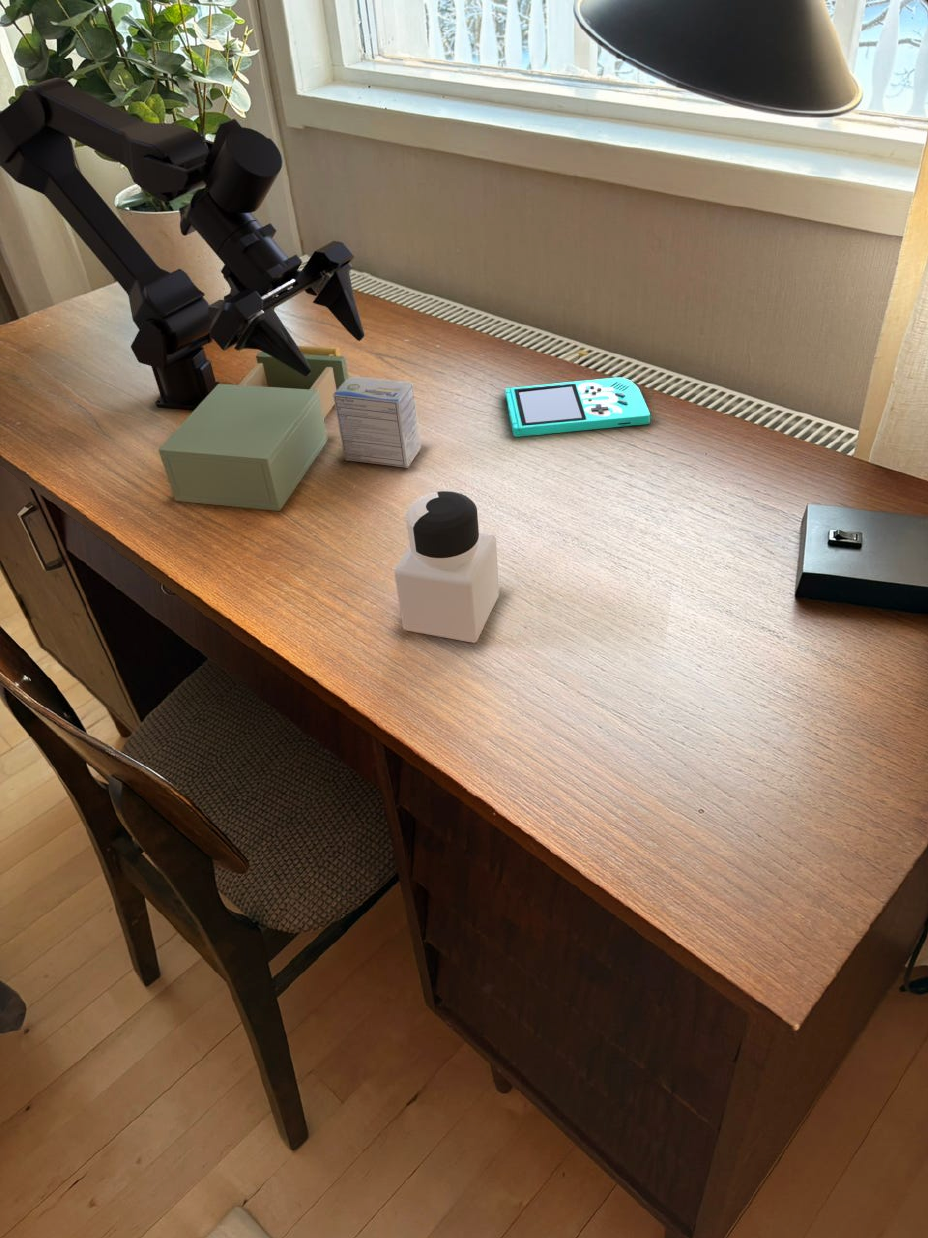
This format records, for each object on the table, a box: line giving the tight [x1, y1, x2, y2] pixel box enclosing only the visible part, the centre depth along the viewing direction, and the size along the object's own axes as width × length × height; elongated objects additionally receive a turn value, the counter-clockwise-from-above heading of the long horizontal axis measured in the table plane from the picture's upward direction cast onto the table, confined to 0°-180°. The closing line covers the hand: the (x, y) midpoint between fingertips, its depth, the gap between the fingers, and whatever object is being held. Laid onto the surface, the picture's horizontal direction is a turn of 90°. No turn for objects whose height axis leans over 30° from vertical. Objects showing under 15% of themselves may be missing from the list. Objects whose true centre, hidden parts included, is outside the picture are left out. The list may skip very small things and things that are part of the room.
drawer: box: [237, 345, 349, 419], centre depth 115 cm, size 18×11×5 cm, turn 165°
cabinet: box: [158, 383, 329, 512], centre depth 106 cm, size 15×13×7 cm
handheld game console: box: [504, 376, 651, 438], centre depth 112 cm, size 10×16×1 cm, turn 94°
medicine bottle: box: [394, 490, 500, 644], centre depth 83 cm, size 7×7×12 cm
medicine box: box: [333, 375, 422, 469], centre depth 105 cm, size 8×4×9 cm, turn 70°
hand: (336, 355), depth 103 cm, fingers open, 9 cm apart
